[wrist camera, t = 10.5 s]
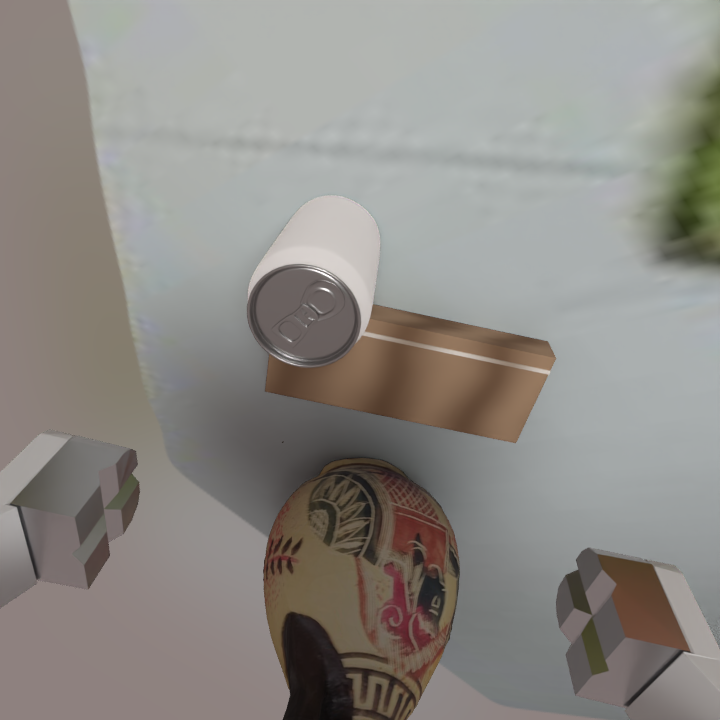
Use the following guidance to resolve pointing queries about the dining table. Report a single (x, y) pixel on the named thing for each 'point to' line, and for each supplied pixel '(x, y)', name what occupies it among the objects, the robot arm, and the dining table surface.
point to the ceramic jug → (359, 592)
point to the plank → (428, 374)
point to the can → (316, 283)
